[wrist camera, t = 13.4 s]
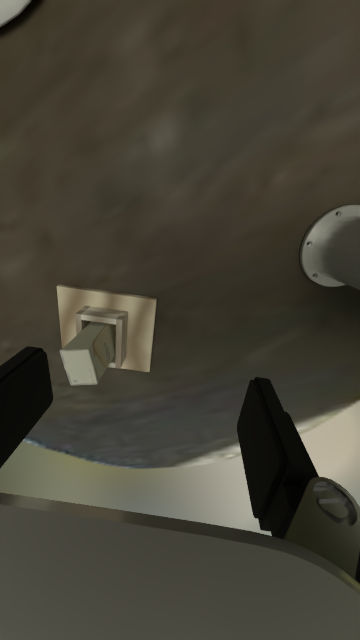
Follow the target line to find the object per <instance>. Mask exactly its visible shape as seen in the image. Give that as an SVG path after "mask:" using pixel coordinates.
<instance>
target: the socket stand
mask: <svg viewBox="0 0 360 640" xmlns="http://www.w3.org/2000/svg"><path fill="white" fill-rule="evenodd" d="M57 294H58V305H59V317H60V328H61V340H62V349H63V348H64V347H65V346H66V345H67V344H68V343H69V342H70V341H71V340H72V339H73V338H74V337H76V336H77V335H78V334H79V333H80V332H81V331H82V330H83V329H84V328H85V327H86V326H87V325H88V324H90V323H91V322H92V321H94V322H101V323H109V324H116V354H115V355H114V357H113V359H112V360H111V362H110V364H109V365H108V367H113V368H123V369H130V370H137V371H145V372H149V371H150V365H151V355H152V345H153V335H154V325H155V314H156V304H157V298H154V297H147V296H139V295H132V294H125V293H118V292H111V291H104V290H97V289H90V288H82V287H75V286H68V285H61V284H60V285H58V286H57Z"/></svg>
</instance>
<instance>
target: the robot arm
mask: <svg viewBox="0 0 360 640" xmlns="http://www.w3.org/2000/svg"><path fill="white" fill-rule="evenodd" d="M336 213H337V214H336ZM307 242H308V245H307ZM300 262H301V267H302V269H303V271H304V273H305V274H306V275H307V277H308V278H310V279H311V280H312V281H314V282H316V283H317V284H320V285H323V286H328V287H339V286H343V285H348V286H351V287H353V288H356V289H358V290H360V205H347V206H342V207H338V208H335V209H333V210H331V211H328V212H327V213H325V214H324V215H322V216H321V217H320V218H319V219H318V220H317V221H315V222H314V223H313V225H312V226H311V227H310V228H309V230H308V231H307V233H306V235H305V237H304V239H303V242H302V244H301V249H300ZM313 274H314V275H313ZM52 401H53V393H52V386H51V380H50V373H49V366H48V360H47V354H46V352H44V351H43V349H42V348H37V347H26V348H24V349H23V350H21V351H20V352H19V353H17V354H16V355H15V356H13V357H12V358H11V359H9V360H8V361H7V362H5V363H4V364H2V365H1V366H0V468H1V467H2V465H3V464H4V463H5V462H6V460H7V459H8V458H9V457H10V455H11V454H12V453H13V452H14V450H15V449H16V448H17V446H18V445H19V444H20V443H21V442H22V440H23V439H24V438H25V437H26V435H27V434H28V433H29V432H30V430H31V429H32V428H33V427H34V425H35V424H36V423H37V422H38V420H39V419H40V418H41V417H42V415H43V414H44V413H45V412H46V410H47V409H48V408H49V407H50V405H51V403H52ZM237 432H238V438H239V443H240V448H241V453H242V459H243V464H244V469H245V475H246V480H247V485H248V490H249V495H250V501H251V506H252V511H253V515H254V517H255V518H258V519H259V524H260V529H261V530H264V531H271V534H272V536H269V535H264V534H260V533H256V532H252V531H246V530H241V529H235V528H229V527H223V526H218V525H211V524H206V523H200V522H194V521H187V520H181V519H174V518H168V517H161V516H155V515H148V514H142V513H135V512H129V511H122V510H116V509H109V508H102V507H95V506H89V505H82V504H75V503H68V502H62V501H55V500H48V499H41V498H34V497H27V496H19V495H13V494H6V493H0V640H360V507H359V505H358V504H357V502H356V501H355V499H354V498H353V497H352V496H351V494H350V493H349V492H348V491H347V490H346V489H344V488H343V487H342V486H341V485H340V484H338V483H336V482H334V481H333V480H331V479H328V478H325V477H319V476H318V474H317V472H316V469H315V467H314V465H313V463H312V461H311V459H310V457H309V455H308V453H307V451H306V448H305V446H304V444H303V442H302V440H301V438H300V436H299V434H298V432H297V429H296V427H295V425H294V423H293V421H292V419H291V417H290V415H289V414H288V413H287V412H284V410H283V408H282V405H281V403H280V401H279V399H278V397H277V394H276V392H275V390H274V388H273V386H272V384H271V381H270V380H269V379H266V378H258V377H256V378H255V379H254V380H250V383H249V386H248V389H247V393H246V396H245V399H244V403H243V406H242V409H241V413H240V416H239V420H238V423H237Z"/></svg>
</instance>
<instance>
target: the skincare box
mask: <svg viewBox="0 0 360 640" xmlns="http://www.w3.org/2000/svg"><path fill="white" fill-rule="evenodd" d="M60 354H61V357H62V360H63V364H64V367H65V370H66V373H67V376H68V378H69V381H70V384H71V385H92V384H97V383H98V381H99V380H100V378H101V376H102V375H103V373H104V372H105V370H106V368H107V367H108V365H109V364H110V362H111V360H112V359H113V357H114V355H115V354H116V324H109V323H101V322H94V321H92V322H91V323H90V324H88V325H87V326H86V327H85V328H84V329H83V330H82V331H81V332H80V333H79V334H78V335H77V336H76V337H74V338H73V339H72V340H71V341H70V342H69V343H68V344H67V345H66V346H65V347H64V348H63V349H62V350H60Z"/></svg>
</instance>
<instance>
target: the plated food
mask: <svg viewBox="0 0 360 640" xmlns="http://www.w3.org/2000/svg"><path fill="white" fill-rule="evenodd" d="M31 1H32V0H0V27H2V26H3V25H5V24H6V23H8V22H9V21H11V20H12V19H14V18H15V17H17V16H18V15H20V13H21V12H22V11H23V10H24V9H25V8H26V6H27V5H28V4H29V3H30V2H31Z"/></svg>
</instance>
